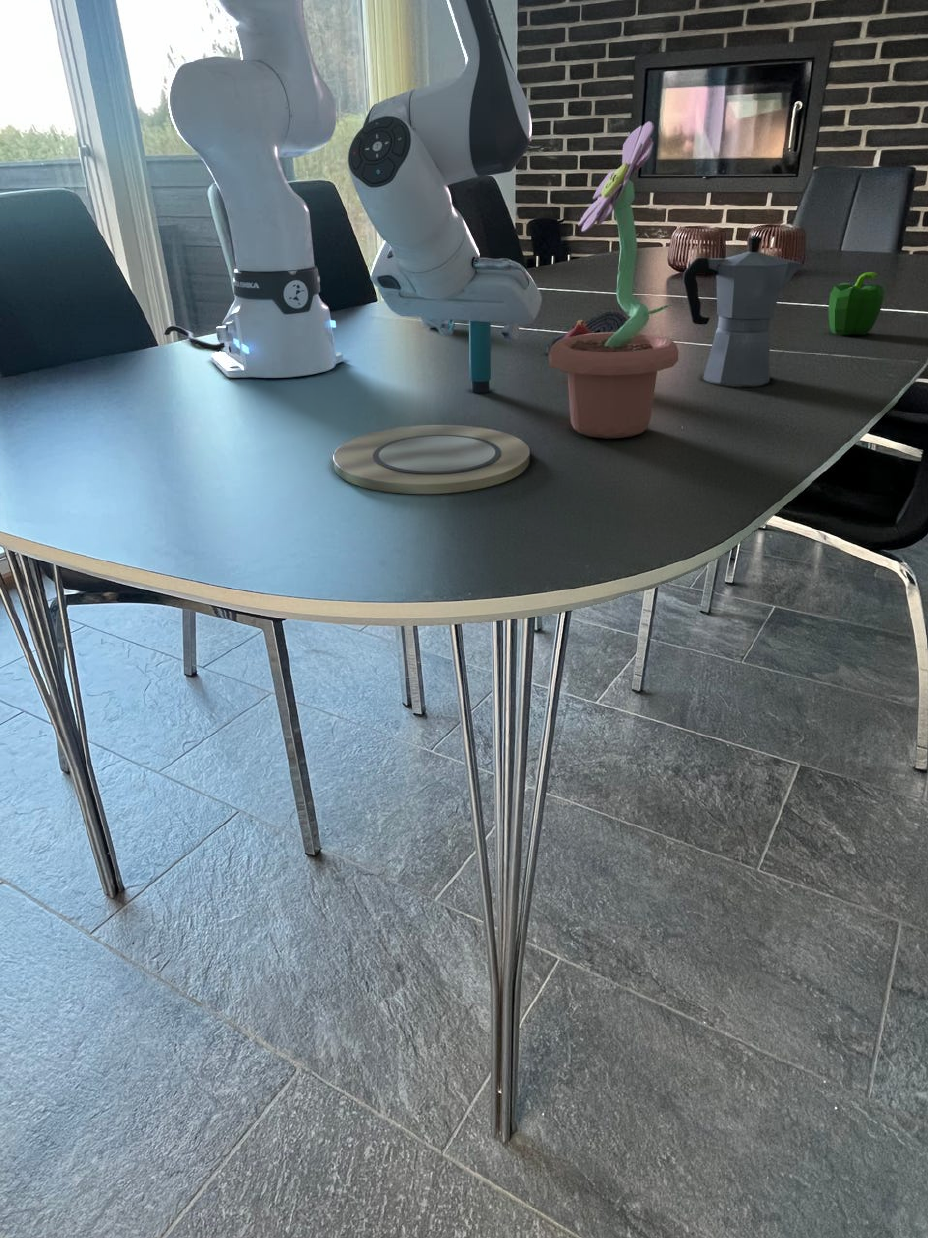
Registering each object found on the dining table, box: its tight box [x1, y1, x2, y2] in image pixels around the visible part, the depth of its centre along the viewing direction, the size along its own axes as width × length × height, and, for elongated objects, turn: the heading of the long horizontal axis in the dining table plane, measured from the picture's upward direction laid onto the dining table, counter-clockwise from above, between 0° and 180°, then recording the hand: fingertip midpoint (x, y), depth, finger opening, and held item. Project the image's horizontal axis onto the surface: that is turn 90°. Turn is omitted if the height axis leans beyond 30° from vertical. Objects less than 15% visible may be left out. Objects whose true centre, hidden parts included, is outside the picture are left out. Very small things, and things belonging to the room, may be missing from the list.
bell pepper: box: [828, 271, 885, 337], centre depth 141 cm, size 8×8×10 cm
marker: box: [468, 321, 492, 394], centre depth 109 cm, size 3×3×12 cm
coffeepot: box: [682, 235, 803, 388], centre depth 111 cm, size 15×9×18 cm, turn 92°
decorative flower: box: [548, 120, 679, 440], centre depth 88 cm, size 15×14×30 cm
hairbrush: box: [546, 307, 628, 356], centre depth 140 cm, size 8×4×25 cm
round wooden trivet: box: [332, 424, 531, 495], centre depth 85 cm, size 20×20×1 cm
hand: (480, 332), depth 108 cm, fingers open, 8 cm apart
